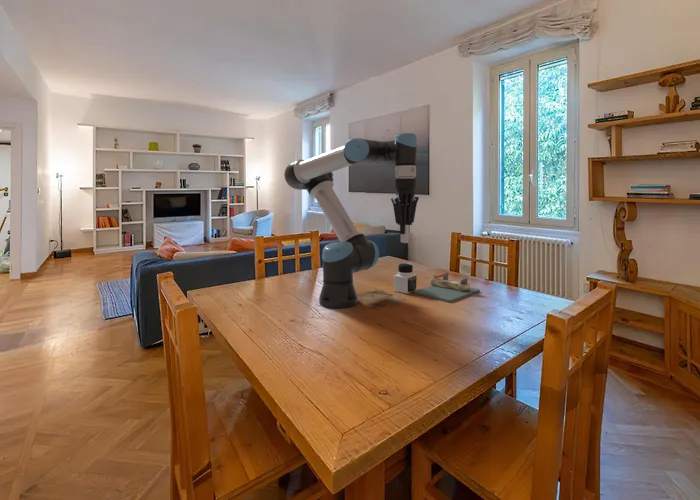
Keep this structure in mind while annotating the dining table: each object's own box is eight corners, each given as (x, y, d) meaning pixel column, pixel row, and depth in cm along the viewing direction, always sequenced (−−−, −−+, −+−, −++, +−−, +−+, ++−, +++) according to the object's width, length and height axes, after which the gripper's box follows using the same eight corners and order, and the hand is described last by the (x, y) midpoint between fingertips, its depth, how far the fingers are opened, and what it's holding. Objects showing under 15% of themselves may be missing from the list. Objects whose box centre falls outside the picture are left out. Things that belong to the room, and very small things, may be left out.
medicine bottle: (407, 294, 160) (408, 266, 158) (393, 291, 165) (393, 264, 163) (416, 290, 166) (417, 263, 164) (402, 287, 170) (402, 261, 168)
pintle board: (449, 302, 148) (450, 287, 147) (413, 293, 162) (413, 279, 161) (479, 291, 163) (480, 278, 162) (444, 283, 176) (444, 271, 175)
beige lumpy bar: (471, 289, 162) (471, 283, 161) (466, 292, 158) (467, 286, 158) (433, 282, 173) (433, 277, 173) (428, 285, 169) (428, 279, 169)
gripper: (401, 177, 131) (400, 245, 135) (425, 177, 139) (423, 241, 143) (385, 178, 136) (385, 243, 140) (409, 178, 145) (408, 239, 149)
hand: (404, 242), depth 142 cm, fingers closed
